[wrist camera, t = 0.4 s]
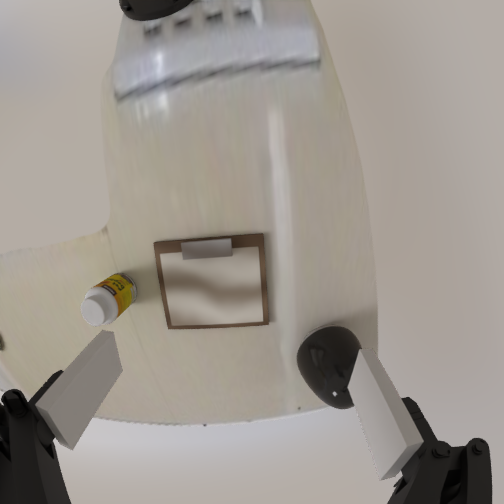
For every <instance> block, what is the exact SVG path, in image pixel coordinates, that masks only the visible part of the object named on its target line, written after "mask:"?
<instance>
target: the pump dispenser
mask: <svg viewBox="0 0 504 504" xmlns="http://www.w3.org/2000/svg"><path fill="white" fill-rule="evenodd" d="M359 349H362V347H361V345H360V342H359V340H358V339H357V337H356V336H355V335H354V333H353V332H351V331H350V330H348V329H347V328H344V327H340V326H336V325H325V326H321V327H318V328H316V329H314V330H313V331H311V332H310V333H309V334H308V335H307V336H306V337H305V338H304V340H303V341H302V343H301V345H300V348H299V350H298V353H297V365H298V369H299V371H300V373H301V375H302V377H303V379H304V380H305V382H306V383H307V385H308V386H309V387H310V389H311V390H312V391H313V392H314V393H315V394H316V395H317V396H318V397H319V398H320V399H321V400H322V401H323V402H325V403H326V404H328V405H330V406H332V407H334V408H338V409H348V408H351V407H353V406H354V403H353V400H352V398H351V395H350V392H349V390H348V385H349V382H350V379H351V376H352V373H353V369H354V366H355V363H356V360H357V356H358V353H359Z"/></svg>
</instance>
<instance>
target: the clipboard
mask: <svg viewBox="0 0 504 504" xmlns="http://www.w3.org/2000/svg"><path fill="white" fill-rule="evenodd" d="M154 250H155V257H156V264H157V271H158V277H159V283H160V289H161V295H162V300H163V305H164V311H165V316H166V321H167V326H168V329H204V328H228V327H245V326H259V325H269V320H268V303H267V285H266V269H265V253H264V238H263V234H249V235H236V236H223V237H210V238H198V239H186V240H175V241H163V242H154Z"/></svg>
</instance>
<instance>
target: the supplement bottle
mask: <svg viewBox="0 0 504 504" xmlns="http://www.w3.org/2000/svg"><path fill="white" fill-rule="evenodd" d="M135 298H136V286H135V284H134V282H133V281H132V279H131V278H130V277H128V276H127V275H125V274H121V273H117V274H114V275H112V276H110V277H109V278H107V279H105V280H104V281H102V282H101V283H99V284H97V285H96V286H94V287H93V288H91V289H90V290H89V291H88V292H87V293H86V296H85V300H84V301H83V302H82V304H81V313H82V316H83V318H84V319H85V320H86V322H88V323H89V324H90V325H92V326H100V325H102V324H104V325H107V324H110V323H112V322H113V321H115V320H116V318H118V316H120V315H121V314H122V313H123V312H124V311H125V310H126V309H127V308H128V307H129V306H130V305H131V304H132V303H133V302H134V300H135Z"/></svg>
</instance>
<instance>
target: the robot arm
mask: <svg viewBox="0 0 504 504" xmlns="http://www.w3.org/2000/svg"><path fill="white" fill-rule="evenodd" d="M191 1H193V0H119V3H120V6H121V9H122V11H123V12H124V13H125V15H126V16H127V17H129V18H131V19H134V20H140V21H145V20H153V19H158V18H161V17H165V16H167V15H170V14H172V13H174V12H176V11H178V10H180V9H182V8H184V7H185V6H187V5H188V4H189V3H190V2H191ZM122 371H123V369H122V366H121V362H120V358H119V354H118V350H117V345H116V341H115V336H114V332H110V331H105V330H102V331H101V332H100V333H99V334H98V335H97V336H96V337H95V338H94V339H93V340H92V341H91V342H90V343H89V345H88V346H87V347H86V348H85V349H84V350H83V351H82V352H81V353H80V354H79V355H78V356H77V357H76V359H75V360H74V361H73V362H72V363H71V364H70V365H69V366H68V367H67V369H66V370H65V371H62V370H60V371H58V372H56V373H54V374H53V375H52V376H51V377H50V378H49V379H48V380H47V382H45V383H44V385H43V387H41V388H40V389H39V390H38V391H37V392H36V394H35V395H34V396H33V397H32V398H31V399H30V401H29V402H27V400H26V398H25V396H24V394H23V393H22V392H21V391H20V390H18V389H11V390H8V391H6V392H5V393H4V394H3V396H2V398H1V401H2V402H3V404H4V405H2V404H1V403H0V504H71V502H70V499H69V496H68V493H67V490H66V487H65V483H64V480H63V477H62V473H61V470H60V466H59V462H58V458H57V453H56V449H55V445H54V443H53V439H54V438H56V439H57V440H58V442H59V443H60V444H61V445H63V446H65V447H67V448H69V449H71V450H73V449H74V447H75V445H76V444H77V442H78V440H79V439H80V437H81V435H82V434H83V432H84V431H85V429H86V427H87V426H88V424H89V422H90V421H91V419H92V418H93V416H94V414H95V413H96V411H97V410H98V408H99V406H100V405H101V403H102V402H103V400H104V399H105V397H106V395H107V394H108V392H109V391H110V389H111V388H112V386H113V385H114V383H115V382H116V380H117V379H118V377H119V376H120V374H121V373H122ZM348 390H349V392H350V395H351V398H352V400H353V403H354V406H355V409H356V411H357V414H358V417H359V420H360V423H361V425H362V428H363V431H364V434H365V437H366V440H367V443H368V446H369V449H370V452H371V455H372V458H373V461H374V464H375V467H376V471H377V474H378V477H379V480H384V479H388V478H392V477H395V476H396V475H397V474H398V473H399V472H400V470H401V471H402V474H403V476H402V477H401V479H399V480H398V482H397V483H396V484H395V485H394V487H396V486H397V487H396V489H395V490H394V492H393V494H392V496H391V498H390V500H389V501H388V503H387V504H492V473H491V460H490V451H489V446H488V444H487V442H486V441H485V440H483V439H481V438H473V439H472V440H470V441H469V442H468V444H467V445H466V446H459V447H451V446H450V445H449V444H448V443H446V442H444V441H438V440H437V438H436V437H435V435H434V433H433V431H432V429H431V427H430V426H429V424H428V422H427V421H426V419H425V418H424V415H423V414H422V412H421V410H420V408H419V407H418V405H417V403H416V402H415V401H413V400H412V399H411V398H410V397H406V398H401V397H400V396H399V394H398V392H397V390H396V388H395V387H394V385H393V383H392V381H391V380H390V378H389V376H388V374H387V373H386V371H385V369H384V368H383V366H382V364H381V362H380V361H379V359H378V357H377V355H376V354H375V352H374V350H373V349H359V353H358V356H357V360H356V363H355V366H354V369H353V373H352V376H351V379H350V382H349V385H348Z"/></svg>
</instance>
